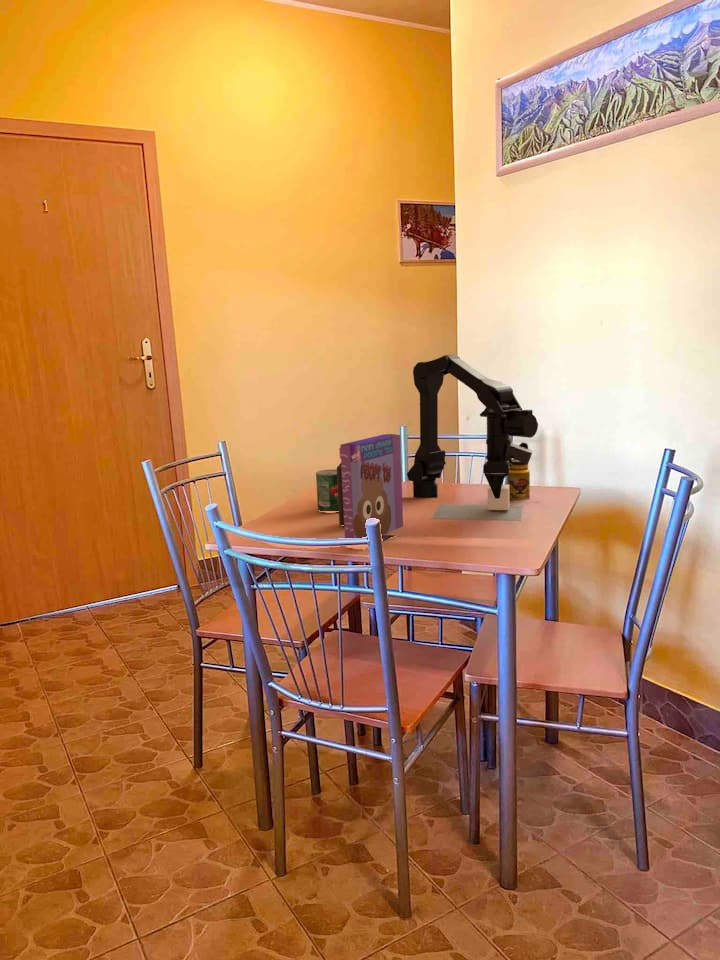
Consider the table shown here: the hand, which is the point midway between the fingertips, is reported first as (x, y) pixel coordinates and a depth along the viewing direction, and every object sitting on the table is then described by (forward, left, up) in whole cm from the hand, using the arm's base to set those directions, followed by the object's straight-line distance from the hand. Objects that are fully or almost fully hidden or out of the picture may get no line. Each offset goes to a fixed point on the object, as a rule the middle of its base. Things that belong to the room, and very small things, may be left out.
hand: (498, 494), depth 184 cm
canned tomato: (-46, +2, -6) cm, 46 cm away
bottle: (-36, -13, -6) cm, 39 cm away
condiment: (+4, +16, -6) cm, 18 cm away
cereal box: (-27, -26, -6) cm, 38 cm away
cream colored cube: (0, 0, -4) cm, 4 cm away
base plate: (-5, -3, -6) cm, 8 cm away
